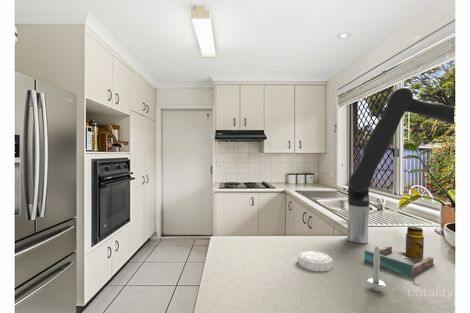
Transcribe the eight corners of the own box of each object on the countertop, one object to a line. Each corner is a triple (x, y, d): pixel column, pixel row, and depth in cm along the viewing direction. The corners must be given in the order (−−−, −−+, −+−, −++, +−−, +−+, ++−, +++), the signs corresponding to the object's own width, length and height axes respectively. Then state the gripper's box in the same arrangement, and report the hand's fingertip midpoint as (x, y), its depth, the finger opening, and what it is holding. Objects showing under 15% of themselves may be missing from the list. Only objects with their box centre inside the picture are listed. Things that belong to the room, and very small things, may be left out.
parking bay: (388, 251, 114) (389, 242, 114) (433, 264, 101) (433, 253, 101) (364, 261, 101) (364, 250, 101) (411, 277, 88) (411, 265, 89)
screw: (388, 293, 77) (371, 293, 77) (379, 285, 82) (363, 285, 82) (389, 249, 77) (373, 248, 77) (380, 243, 82) (364, 243, 82)
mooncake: (313, 274, 89) (313, 263, 89) (291, 261, 100) (291, 251, 100) (339, 269, 94) (339, 259, 94) (316, 257, 105) (316, 248, 105)
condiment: (427, 261, 104) (428, 230, 104) (402, 258, 106) (403, 228, 106) (420, 255, 110) (421, 226, 111) (397, 252, 113) (398, 224, 113)
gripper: (450, 159, 120) (444, 194, 120) (470, 156, 106) (464, 196, 106) (469, 162, 118) (463, 198, 118) (492, 160, 105) (485, 200, 104)
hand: (463, 197), depth 112 cm, fingers open, 8 cm apart
